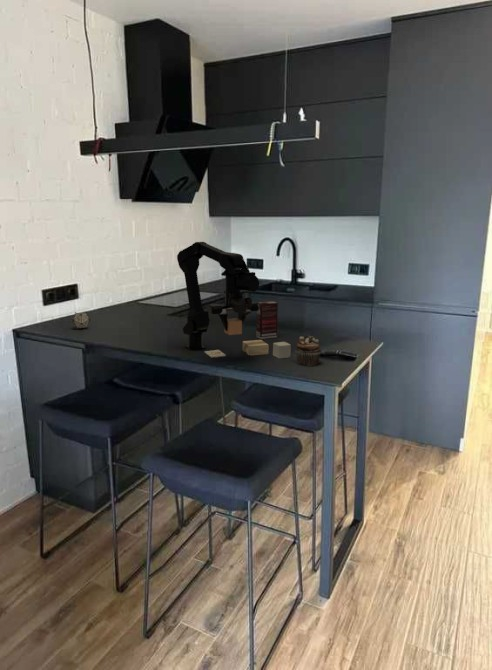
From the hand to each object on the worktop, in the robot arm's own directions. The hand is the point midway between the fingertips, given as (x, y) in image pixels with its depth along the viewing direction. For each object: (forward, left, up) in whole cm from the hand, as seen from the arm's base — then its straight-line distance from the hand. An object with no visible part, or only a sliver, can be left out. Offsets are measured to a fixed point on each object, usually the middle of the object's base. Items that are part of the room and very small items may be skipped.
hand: (233, 330), depth 177 cm
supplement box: (-25, +27, -11) cm, 38 cm away
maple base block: (-5, +12, -11) cm, 17 cm away
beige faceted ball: (-72, -47, -11) cm, 87 cm away
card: (-8, -4, -11) cm, 14 cm away
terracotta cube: (0, 0, -1) cm, 1 cm away
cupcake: (+15, +24, -11) cm, 30 cm away
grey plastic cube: (+4, +19, -11) cm, 22 cm away
